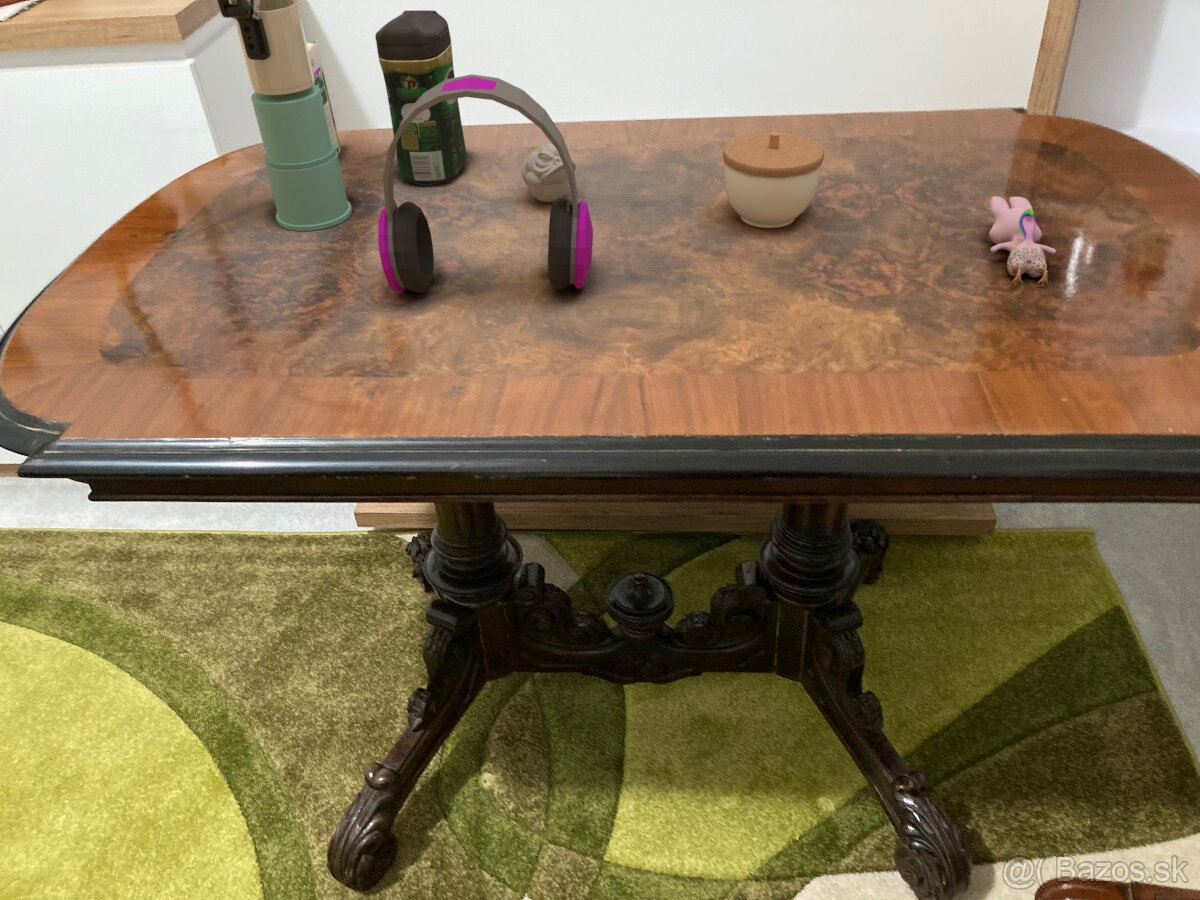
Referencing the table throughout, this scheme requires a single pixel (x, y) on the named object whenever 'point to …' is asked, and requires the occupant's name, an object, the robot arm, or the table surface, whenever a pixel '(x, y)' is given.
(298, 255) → the table surface
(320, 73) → the syrup box
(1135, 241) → the table surface
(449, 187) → the table surface
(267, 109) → the cup stack
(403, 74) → the coffee jar
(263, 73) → the cream cup
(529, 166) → the frog figurine
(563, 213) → the headphones
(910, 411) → the table surface
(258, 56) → the robot arm
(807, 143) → the lidded sugar bowl
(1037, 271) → the rabbit figure
